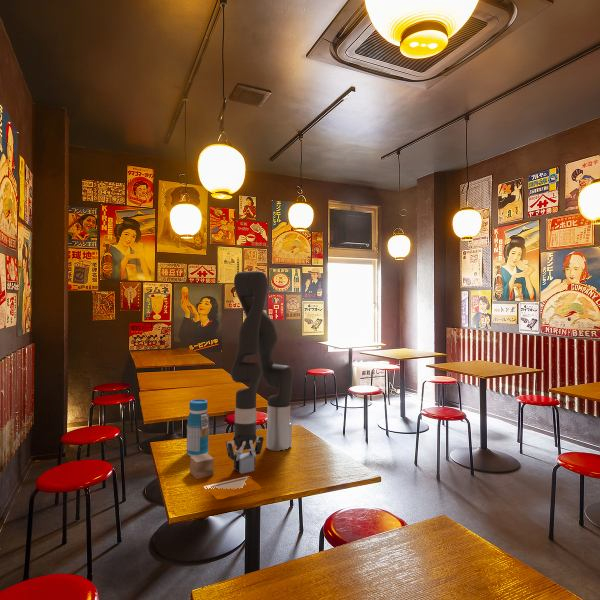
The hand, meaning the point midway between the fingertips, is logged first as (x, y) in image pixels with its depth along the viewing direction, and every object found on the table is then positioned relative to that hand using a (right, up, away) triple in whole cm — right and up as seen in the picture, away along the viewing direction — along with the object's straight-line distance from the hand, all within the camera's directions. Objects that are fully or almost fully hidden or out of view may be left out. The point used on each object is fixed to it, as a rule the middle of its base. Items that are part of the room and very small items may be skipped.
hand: (244, 468), depth 148 cm
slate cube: (0, -1, 0) cm, 1 cm away
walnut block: (-14, -1, -4) cm, 15 cm away
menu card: (-1, -1, -14) cm, 14 cm away
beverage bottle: (-20, 0, +15) cm, 25 cm away
